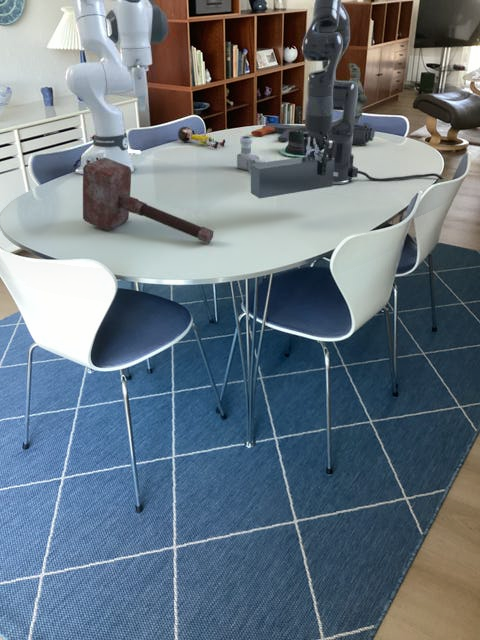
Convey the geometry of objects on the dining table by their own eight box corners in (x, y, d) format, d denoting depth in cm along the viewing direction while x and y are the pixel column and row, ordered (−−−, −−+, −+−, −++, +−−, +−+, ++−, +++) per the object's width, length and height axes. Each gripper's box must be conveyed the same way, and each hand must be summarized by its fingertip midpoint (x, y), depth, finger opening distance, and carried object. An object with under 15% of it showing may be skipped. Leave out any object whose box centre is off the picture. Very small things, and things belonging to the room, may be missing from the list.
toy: (345, 120, 249) (377, 123, 242) (343, 139, 253) (375, 143, 246) (337, 123, 243) (369, 127, 236) (336, 143, 247) (367, 147, 240)
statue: (367, 132, 266) (374, 63, 251) (349, 133, 264) (355, 64, 249) (357, 127, 275) (362, 61, 260) (339, 129, 273) (344, 62, 258)
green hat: (332, 145, 241) (326, 158, 224) (294, 164, 249) (286, 177, 233) (317, 113, 235) (310, 124, 219) (279, 133, 244) (269, 145, 228)
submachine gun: (244, 132, 259) (268, 122, 277) (244, 138, 260) (268, 128, 279) (307, 138, 245) (328, 127, 264) (307, 145, 246) (328, 133, 265)
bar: (259, 198, 156) (259, 169, 151) (250, 193, 160) (250, 164, 156) (332, 186, 164) (334, 158, 160) (322, 181, 169) (324, 153, 164)
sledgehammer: (223, 202, 148) (103, 155, 160) (205, 213, 141) (81, 164, 152) (214, 257, 158) (102, 210, 170) (196, 271, 151) (81, 220, 163)
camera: (247, 133, 214) (277, 139, 205) (247, 164, 220) (276, 171, 211) (231, 137, 209) (262, 144, 200) (232, 169, 215) (261, 176, 206)
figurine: (211, 139, 238) (170, 125, 250) (210, 157, 242) (170, 142, 255) (230, 134, 247) (190, 120, 259) (229, 150, 251) (189, 136, 263)
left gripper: (149, 61, 155) (154, 113, 162) (146, 55, 172) (150, 102, 179) (126, 62, 154) (132, 114, 161) (125, 55, 171) (130, 103, 178)
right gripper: (345, 115, 150) (340, 176, 159) (316, 107, 161) (313, 165, 170) (321, 117, 147) (318, 180, 156) (294, 109, 159) (292, 168, 167)
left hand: (141, 108), depth 170 cm, fingers open, 8 cm apart
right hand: (316, 172), depth 163 cm, fingers closed on bar, 5 cm apart
